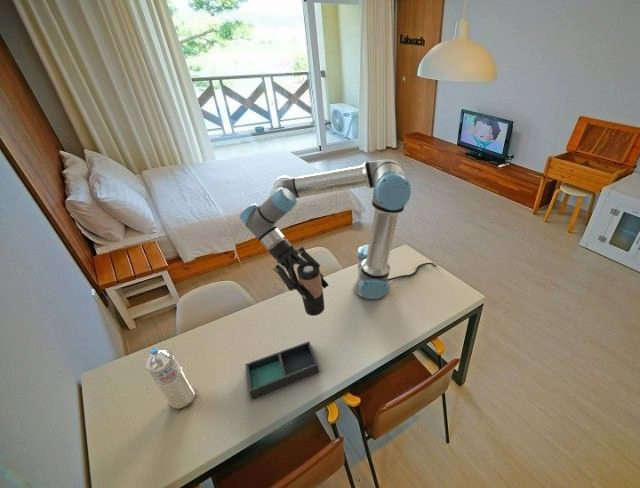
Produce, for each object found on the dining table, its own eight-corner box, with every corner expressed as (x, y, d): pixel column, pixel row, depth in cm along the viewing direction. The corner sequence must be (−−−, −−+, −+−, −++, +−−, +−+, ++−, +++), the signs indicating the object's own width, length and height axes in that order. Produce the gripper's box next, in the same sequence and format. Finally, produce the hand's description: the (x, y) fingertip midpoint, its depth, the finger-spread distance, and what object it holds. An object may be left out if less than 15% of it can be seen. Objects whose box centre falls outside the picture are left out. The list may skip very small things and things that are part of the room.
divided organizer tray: (310, 348, 122) (309, 341, 120) (319, 372, 114) (317, 364, 112) (248, 371, 113) (245, 364, 111) (252, 399, 105) (249, 391, 103)
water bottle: (169, 413, 100) (136, 364, 86) (173, 394, 105) (141, 344, 92) (194, 405, 103) (165, 356, 89) (196, 386, 108) (169, 337, 94)
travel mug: (320, 317, 118) (313, 276, 107) (301, 314, 119) (292, 272, 108) (328, 303, 124) (322, 262, 113) (309, 300, 125) (302, 259, 114)
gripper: (292, 235, 122) (331, 280, 125) (250, 263, 106) (295, 314, 110) (301, 226, 117) (341, 274, 120) (258, 255, 102) (305, 308, 105)
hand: (319, 293), depth 115 cm, fingers closed on travel mug, 7 cm apart
